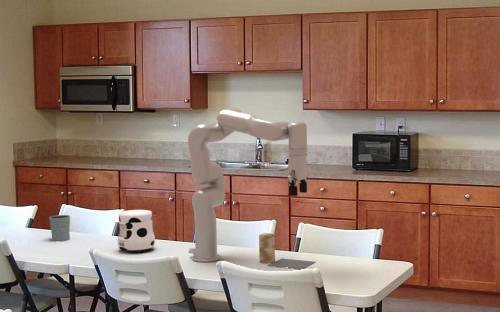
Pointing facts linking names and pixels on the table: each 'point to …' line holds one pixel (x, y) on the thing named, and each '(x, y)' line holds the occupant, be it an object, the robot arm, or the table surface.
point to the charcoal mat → (291, 263)
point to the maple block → (266, 248)
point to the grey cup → (60, 227)
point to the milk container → (135, 231)
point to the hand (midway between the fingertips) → (298, 194)
